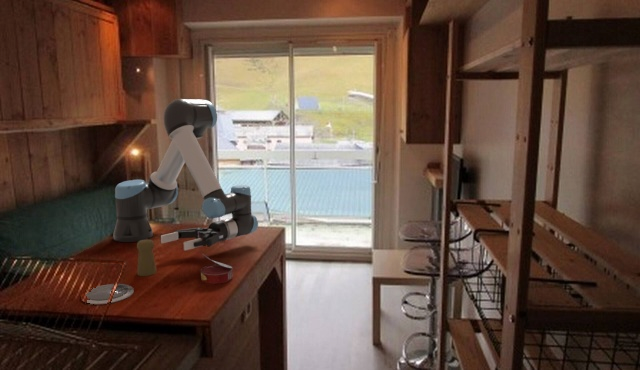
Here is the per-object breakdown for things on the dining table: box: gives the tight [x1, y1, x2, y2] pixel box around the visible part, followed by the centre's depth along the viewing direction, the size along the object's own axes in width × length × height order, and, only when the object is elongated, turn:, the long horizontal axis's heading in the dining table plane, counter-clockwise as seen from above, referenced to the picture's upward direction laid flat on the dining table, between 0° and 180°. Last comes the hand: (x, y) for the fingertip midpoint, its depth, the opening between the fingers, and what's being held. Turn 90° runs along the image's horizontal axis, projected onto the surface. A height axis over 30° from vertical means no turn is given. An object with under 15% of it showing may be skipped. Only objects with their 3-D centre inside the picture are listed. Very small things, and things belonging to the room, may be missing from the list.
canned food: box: [200, 253, 234, 284], centre depth 148 cm, size 11×10×10 cm
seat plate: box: [86, 283, 135, 306], centre depth 134 cm, size 14×14×1 cm
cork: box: [136, 238, 157, 277], centre depth 151 cm, size 6×6×11 cm
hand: (172, 242), depth 158 cm, fingers open, 13 cm apart
